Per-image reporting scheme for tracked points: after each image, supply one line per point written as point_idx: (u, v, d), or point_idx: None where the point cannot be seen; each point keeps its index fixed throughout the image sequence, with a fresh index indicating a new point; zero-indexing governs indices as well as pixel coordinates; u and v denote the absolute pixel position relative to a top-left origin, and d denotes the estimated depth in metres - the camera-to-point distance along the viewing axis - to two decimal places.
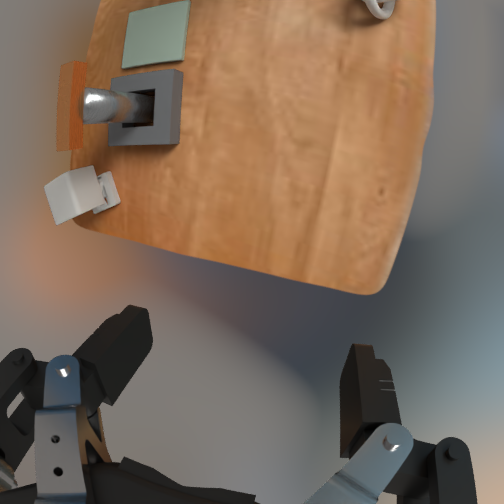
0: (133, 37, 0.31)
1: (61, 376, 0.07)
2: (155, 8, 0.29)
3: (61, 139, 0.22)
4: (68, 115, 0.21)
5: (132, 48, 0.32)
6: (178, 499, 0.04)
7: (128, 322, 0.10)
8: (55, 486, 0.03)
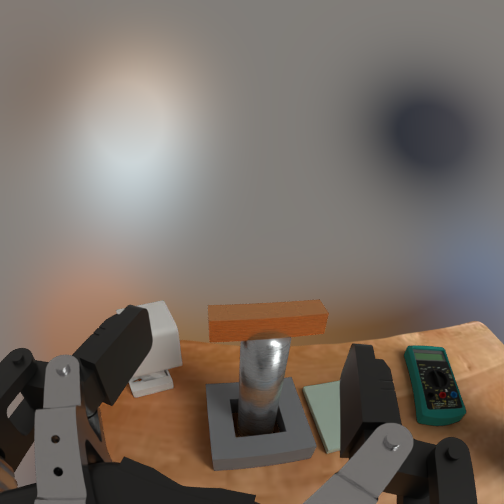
0: None
1: (61, 376, 0.07)
2: None
3: (223, 310, 0.21)
4: (257, 317, 0.21)
5: (329, 392, 0.33)
6: (178, 499, 0.04)
7: (128, 322, 0.10)
8: (55, 485, 0.03)
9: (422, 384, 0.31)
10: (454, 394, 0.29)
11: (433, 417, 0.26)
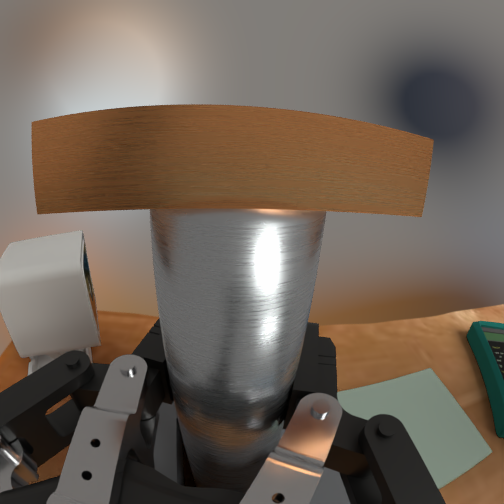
0: (393, 395, 0.17)
1: (129, 377, 0.07)
2: (456, 407, 0.15)
3: None
4: (193, 105, 0.05)
5: (372, 402, 0.17)
6: (178, 499, 0.04)
7: None
8: (78, 487, 0.03)
9: (502, 375, 0.16)
10: None
11: None
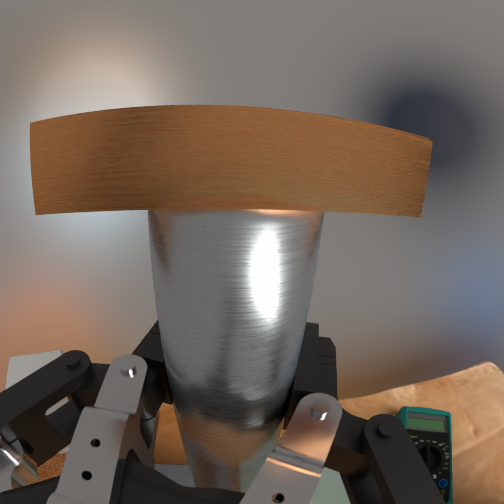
0: None
1: (129, 377, 0.07)
2: None
3: None
4: (190, 105, 0.05)
5: None
6: (178, 499, 0.04)
7: None
8: (78, 487, 0.03)
9: None
10: (444, 482, 0.17)
11: None
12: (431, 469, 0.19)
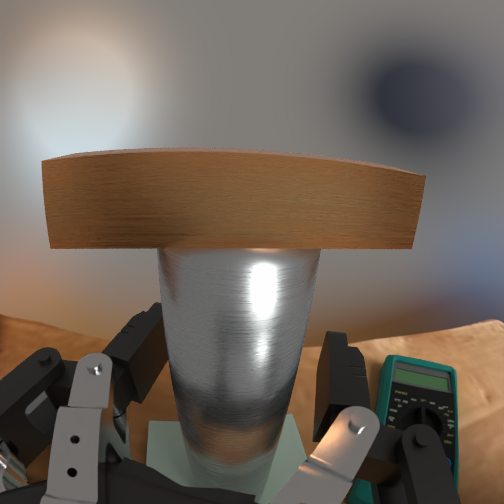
0: None
1: (94, 375, 0.07)
2: None
3: (104, 151, 0.06)
4: (197, 150, 0.06)
5: None
6: (178, 499, 0.04)
7: (157, 319, 0.10)
8: (66, 486, 0.03)
9: None
10: None
11: None
12: None
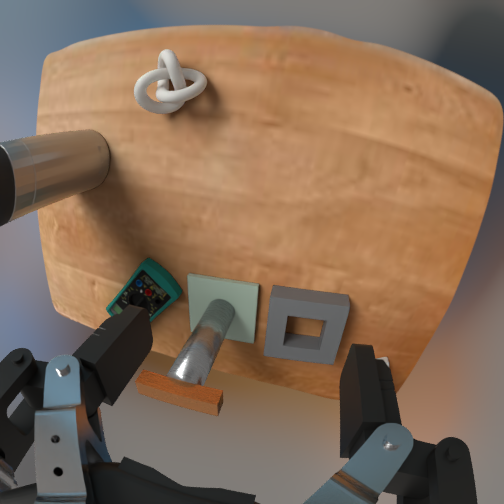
0: None
1: (61, 376, 0.07)
2: (191, 307, 0.42)
3: (206, 409, 0.26)
4: (183, 397, 0.26)
5: (233, 331, 0.43)
6: (178, 499, 0.04)
7: (128, 322, 0.10)
8: (55, 486, 0.03)
9: (156, 312, 0.43)
10: (137, 281, 0.41)
11: (172, 287, 0.41)
12: None
